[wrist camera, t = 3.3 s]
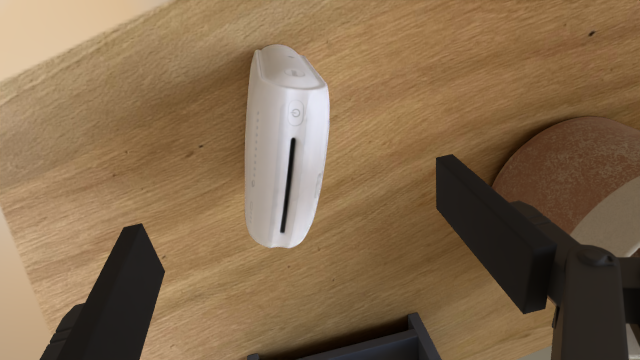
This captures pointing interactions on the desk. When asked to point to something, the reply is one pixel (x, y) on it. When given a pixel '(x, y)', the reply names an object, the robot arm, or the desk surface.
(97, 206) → the desk surface
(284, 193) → the photo printer
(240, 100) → the desk surface
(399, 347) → the shelf
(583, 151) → the planter
